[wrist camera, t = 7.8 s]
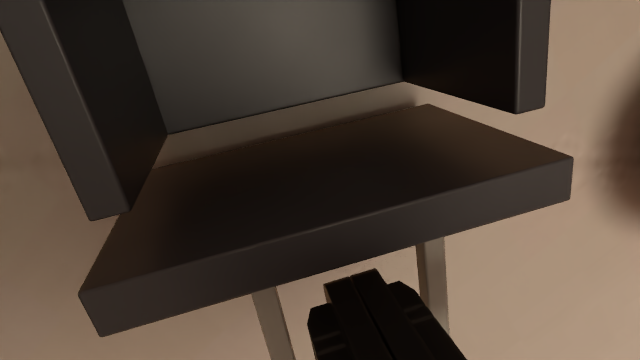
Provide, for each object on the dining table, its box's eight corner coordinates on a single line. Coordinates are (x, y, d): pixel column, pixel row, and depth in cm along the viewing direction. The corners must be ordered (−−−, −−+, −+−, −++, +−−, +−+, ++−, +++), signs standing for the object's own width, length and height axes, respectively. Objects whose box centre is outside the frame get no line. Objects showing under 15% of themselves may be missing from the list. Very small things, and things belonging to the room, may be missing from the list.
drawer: (437, 244, 19) (556, 363, 12) (197, 315, 17) (183, 499, 10) (401, -322, 11) (666, -832, 5) (-37, -294, 9) (-634, -1039, 3)
